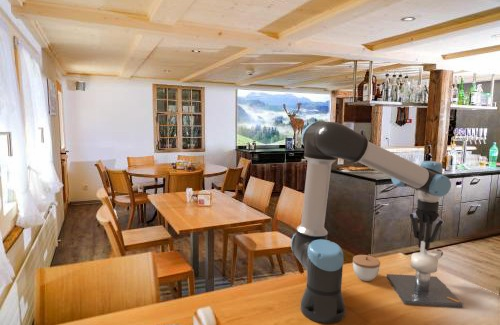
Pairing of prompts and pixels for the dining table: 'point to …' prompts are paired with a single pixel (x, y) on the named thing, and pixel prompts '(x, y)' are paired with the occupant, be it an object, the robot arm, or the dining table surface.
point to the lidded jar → (366, 267)
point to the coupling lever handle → (426, 261)
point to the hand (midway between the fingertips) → (422, 256)
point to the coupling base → (422, 296)
